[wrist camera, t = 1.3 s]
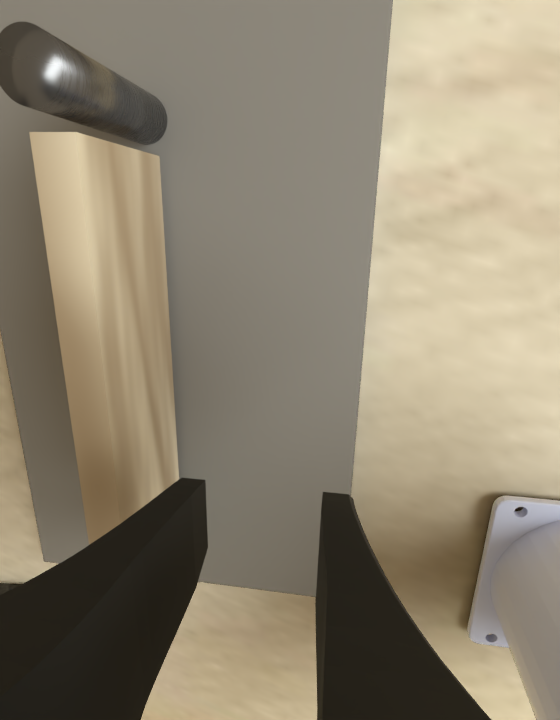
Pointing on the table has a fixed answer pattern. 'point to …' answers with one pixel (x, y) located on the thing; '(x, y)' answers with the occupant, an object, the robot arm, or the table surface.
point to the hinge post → (75, 86)
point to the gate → (110, 318)
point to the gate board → (222, 260)
